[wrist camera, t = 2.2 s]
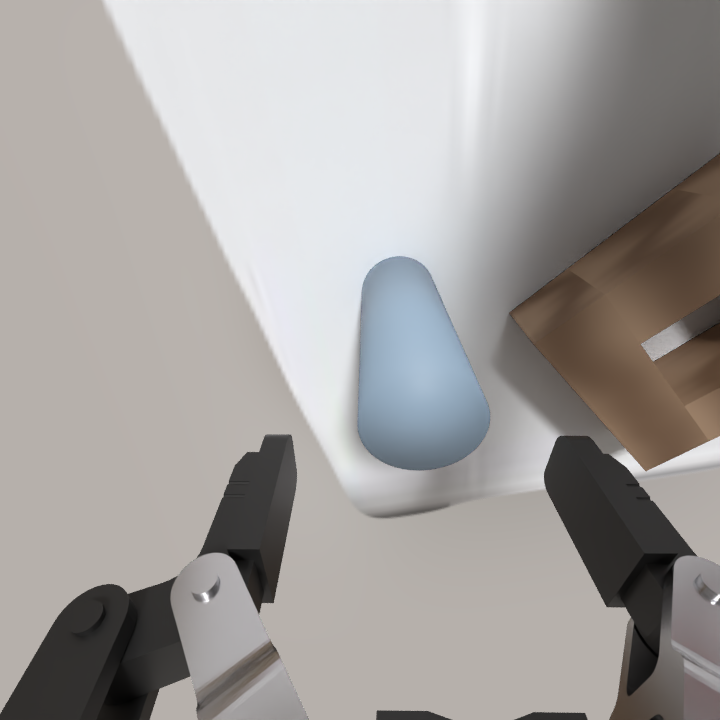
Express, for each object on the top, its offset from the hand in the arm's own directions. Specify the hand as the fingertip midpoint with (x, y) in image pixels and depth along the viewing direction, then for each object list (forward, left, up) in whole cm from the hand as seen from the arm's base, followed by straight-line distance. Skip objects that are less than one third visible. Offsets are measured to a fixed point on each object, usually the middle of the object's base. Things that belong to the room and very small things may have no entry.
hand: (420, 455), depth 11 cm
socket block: (-11, +13, -13) cm, 22 cm away
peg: (0, 0, -13) cm, 13 cm away
